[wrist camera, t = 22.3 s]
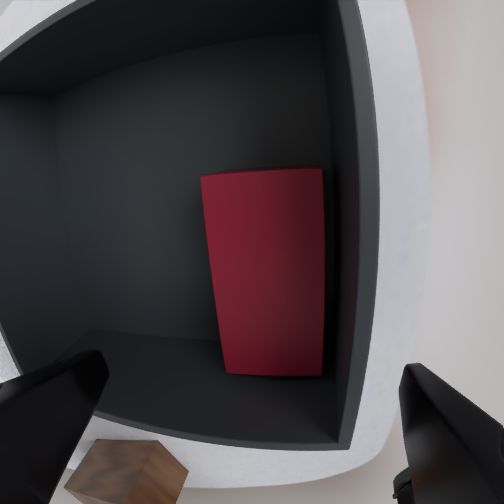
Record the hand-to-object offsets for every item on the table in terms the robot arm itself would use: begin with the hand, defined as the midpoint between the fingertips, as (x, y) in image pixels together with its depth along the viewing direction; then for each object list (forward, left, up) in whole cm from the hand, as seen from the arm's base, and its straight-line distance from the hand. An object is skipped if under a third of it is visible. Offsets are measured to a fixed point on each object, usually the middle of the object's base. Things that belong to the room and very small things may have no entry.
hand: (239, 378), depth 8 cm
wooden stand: (+9, +28, -10) cm, 32 cm away
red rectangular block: (0, 0, -10) cm, 10 cm away
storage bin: (+6, -2, -10) cm, 12 cm away
